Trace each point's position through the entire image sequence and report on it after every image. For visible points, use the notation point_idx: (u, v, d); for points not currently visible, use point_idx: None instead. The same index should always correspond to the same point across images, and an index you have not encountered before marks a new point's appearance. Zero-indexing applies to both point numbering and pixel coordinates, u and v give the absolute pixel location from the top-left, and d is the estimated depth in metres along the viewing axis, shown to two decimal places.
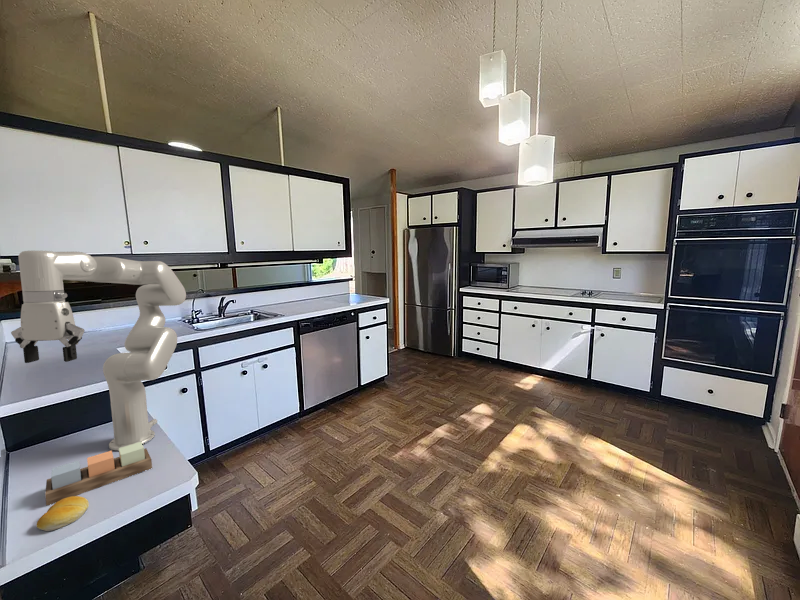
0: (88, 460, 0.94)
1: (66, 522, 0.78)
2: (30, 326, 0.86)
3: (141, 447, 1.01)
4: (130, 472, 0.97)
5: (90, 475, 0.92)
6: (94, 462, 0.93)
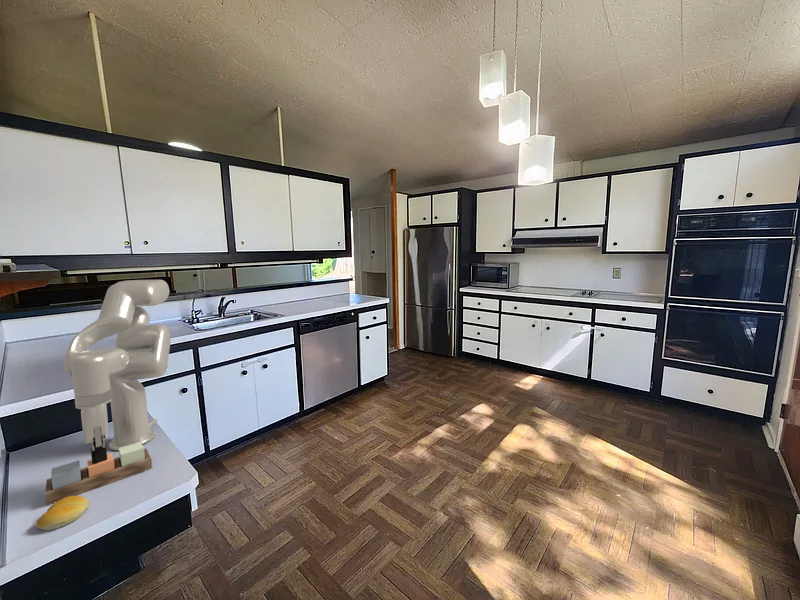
0: (88, 463, 0.94)
1: (66, 522, 0.78)
2: None
3: (141, 447, 1.01)
4: (130, 472, 0.97)
5: None
6: (94, 465, 0.93)
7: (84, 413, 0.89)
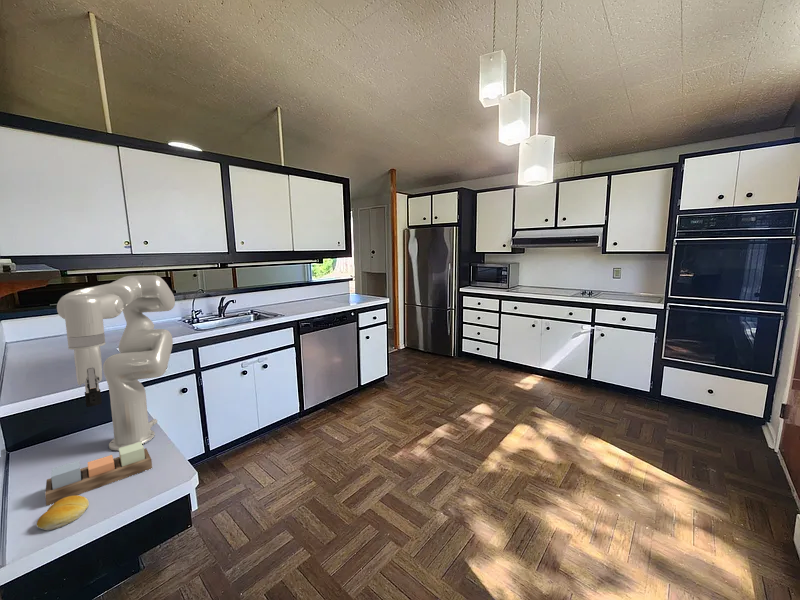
0: (89, 465, 0.94)
1: (66, 521, 0.79)
2: (101, 366, 0.93)
3: (141, 447, 1.01)
4: (130, 472, 0.97)
5: None
6: (95, 467, 0.93)
7: (77, 353, 0.88)
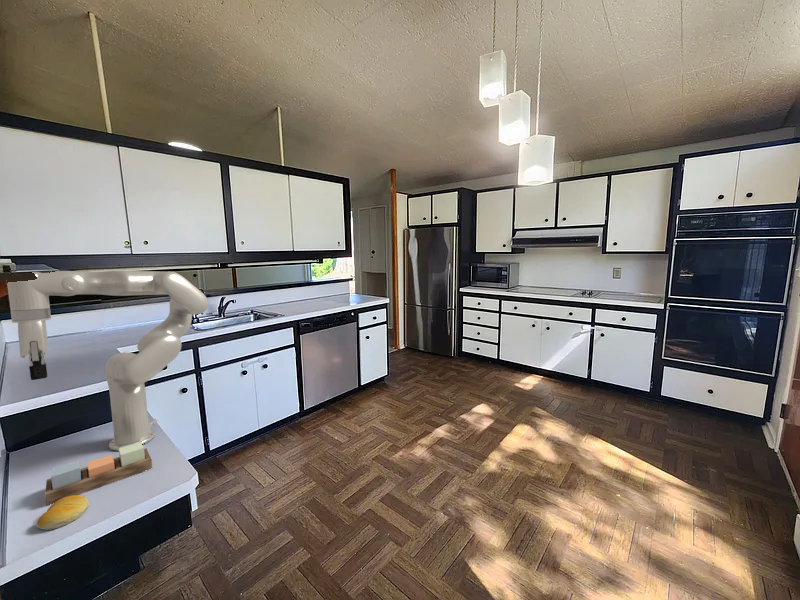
0: (89, 465, 0.94)
1: (66, 521, 0.79)
2: (46, 340, 0.96)
3: (141, 447, 1.01)
4: (130, 472, 0.97)
5: None
6: (95, 467, 0.93)
7: (19, 326, 0.90)
